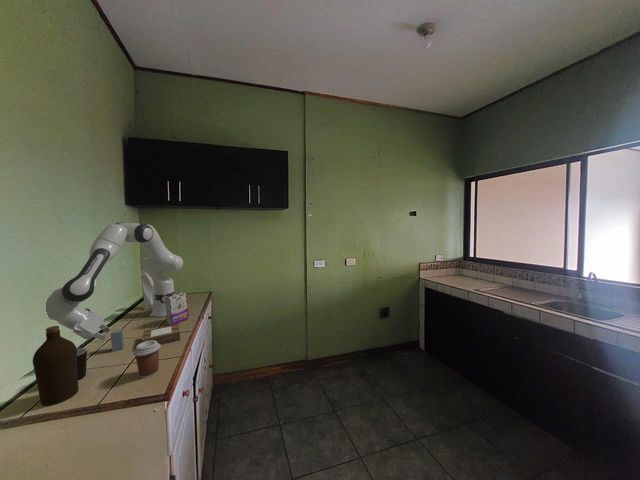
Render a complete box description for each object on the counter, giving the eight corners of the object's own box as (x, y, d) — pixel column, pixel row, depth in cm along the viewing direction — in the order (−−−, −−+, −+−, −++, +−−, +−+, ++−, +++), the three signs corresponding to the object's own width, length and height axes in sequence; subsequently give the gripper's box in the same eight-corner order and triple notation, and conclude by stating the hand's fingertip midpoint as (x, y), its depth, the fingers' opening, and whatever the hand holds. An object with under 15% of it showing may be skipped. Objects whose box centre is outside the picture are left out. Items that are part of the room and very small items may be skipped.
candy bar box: (183, 317, 162) (181, 292, 161) (188, 318, 160) (186, 293, 159) (166, 324, 152) (164, 297, 151) (171, 325, 150) (169, 298, 149)
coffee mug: (95, 373, 103) (92, 349, 102) (68, 386, 95) (66, 361, 94) (75, 369, 107) (72, 346, 106) (48, 382, 98) (45, 357, 98)
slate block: (113, 348, 124) (112, 330, 123) (124, 346, 126) (122, 328, 125) (112, 352, 120) (110, 333, 120) (122, 349, 122) (121, 331, 122)
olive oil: (60, 406, 84) (52, 333, 83) (28, 408, 84) (18, 335, 82) (89, 386, 95) (82, 320, 93) (60, 387, 95) (52, 322, 93)
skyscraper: (141, 310, 179) (138, 271, 176) (144, 307, 186) (141, 269, 184) (155, 308, 182) (152, 270, 180) (158, 305, 189) (155, 268, 187)
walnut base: (144, 338, 134) (143, 330, 134) (179, 330, 142) (178, 323, 142) (142, 349, 122) (141, 340, 122) (180, 340, 131) (179, 332, 130)
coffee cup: (129, 380, 98) (126, 350, 97) (146, 366, 107) (144, 338, 106) (152, 380, 97) (149, 349, 96) (167, 366, 106) (165, 338, 106)
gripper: (76, 320, 107) (108, 336, 113) (89, 307, 125) (116, 321, 130) (62, 333, 105) (96, 349, 111) (77, 318, 123) (105, 332, 128)
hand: (107, 334), depth 121 cm, fingers open, 8 cm apart
